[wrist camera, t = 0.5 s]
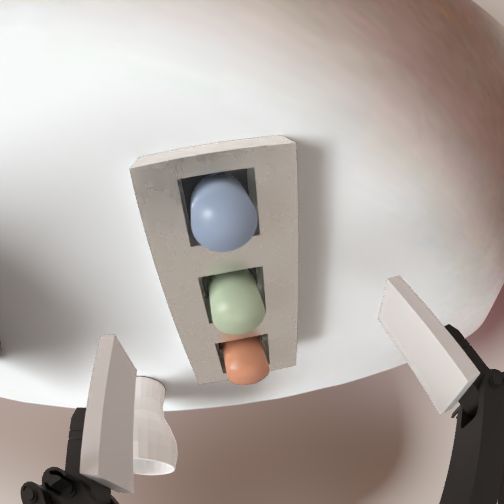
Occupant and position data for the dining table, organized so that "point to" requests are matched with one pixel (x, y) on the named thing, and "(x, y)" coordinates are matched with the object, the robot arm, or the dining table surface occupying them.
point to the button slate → (222, 213)
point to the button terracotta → (245, 360)
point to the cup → (152, 431)
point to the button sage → (235, 302)
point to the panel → (211, 262)
